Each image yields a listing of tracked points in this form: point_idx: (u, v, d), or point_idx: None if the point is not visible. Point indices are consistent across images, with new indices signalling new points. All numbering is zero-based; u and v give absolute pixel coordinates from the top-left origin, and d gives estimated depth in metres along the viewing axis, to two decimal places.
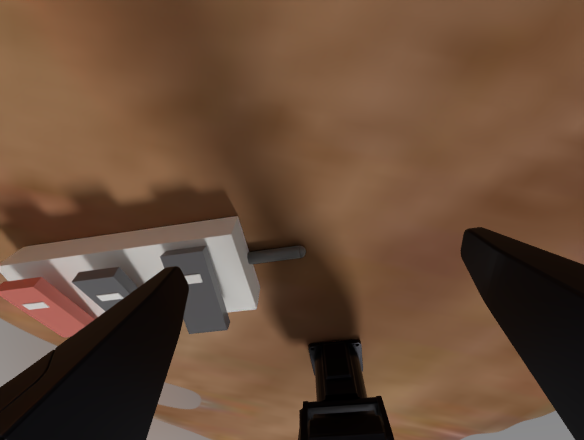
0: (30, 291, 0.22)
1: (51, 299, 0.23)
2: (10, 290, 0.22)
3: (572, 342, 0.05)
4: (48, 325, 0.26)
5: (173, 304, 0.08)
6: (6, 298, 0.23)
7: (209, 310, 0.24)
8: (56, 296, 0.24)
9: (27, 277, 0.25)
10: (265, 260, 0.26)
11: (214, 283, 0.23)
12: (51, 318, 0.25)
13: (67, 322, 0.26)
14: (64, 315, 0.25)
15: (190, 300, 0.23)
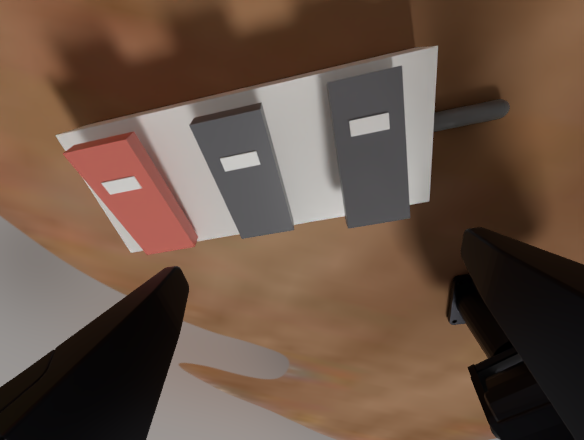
0: (119, 151, 0.14)
1: (147, 171, 0.15)
2: (88, 149, 0.14)
3: (572, 342, 0.05)
4: (131, 230, 0.18)
5: (173, 304, 0.08)
6: (80, 169, 0.15)
7: (389, 183, 0.15)
8: (152, 170, 0.15)
9: None
10: (447, 123, 0.17)
11: (403, 135, 0.15)
12: (138, 214, 0.17)
13: (160, 222, 0.17)
14: (159, 207, 0.17)
15: (362, 165, 0.15)
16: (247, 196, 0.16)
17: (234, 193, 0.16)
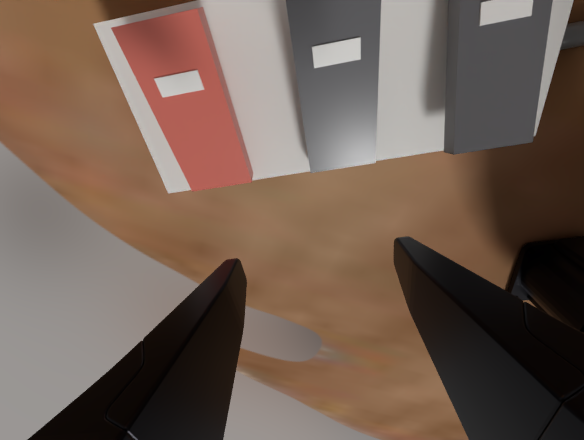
0: (185, 27, 0.11)
1: (214, 64, 0.12)
2: (145, 23, 0.11)
3: (461, 352, 0.05)
4: (179, 154, 0.14)
5: (238, 297, 0.08)
6: (129, 55, 0.11)
7: (516, 94, 0.12)
8: (218, 67, 0.12)
9: None
10: (566, 38, 0.15)
11: (542, 28, 0.12)
12: (192, 131, 0.14)
13: (216, 144, 0.14)
14: (220, 121, 0.13)
15: (486, 68, 0.12)
16: (332, 109, 0.13)
17: (318, 104, 0.13)
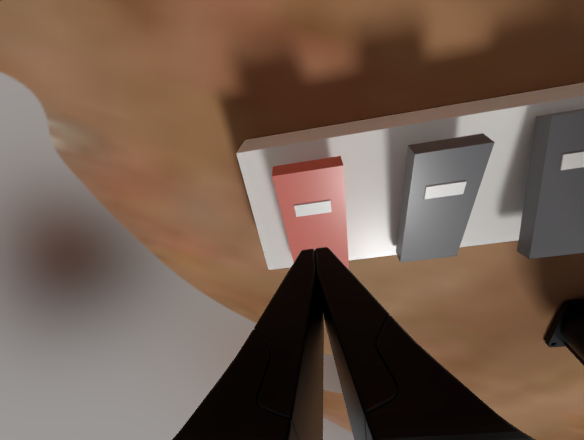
0: (330, 176, 0.14)
1: (344, 196, 0.15)
2: (300, 173, 0.14)
3: (340, 362, 0.06)
4: (295, 250, 0.17)
5: None
6: (280, 191, 0.14)
7: None
8: None
9: None
10: None
11: None
12: (312, 236, 0.17)
13: (328, 244, 0.17)
14: (336, 230, 0.16)
15: (562, 198, 0.15)
16: (430, 223, 0.16)
17: (420, 219, 0.16)
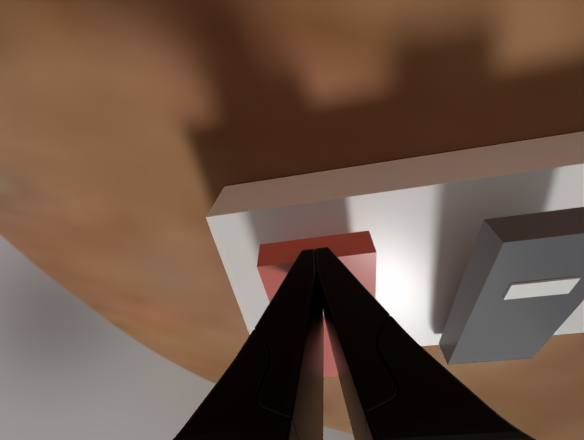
0: (353, 266, 0.08)
1: (374, 291, 0.09)
2: None
3: (340, 362, 0.06)
4: None
5: (319, 287, 0.08)
6: (271, 286, 0.09)
7: None
8: None
9: None
10: None
11: None
12: None
13: None
14: None
15: None
16: (504, 325, 0.10)
17: (489, 321, 0.10)
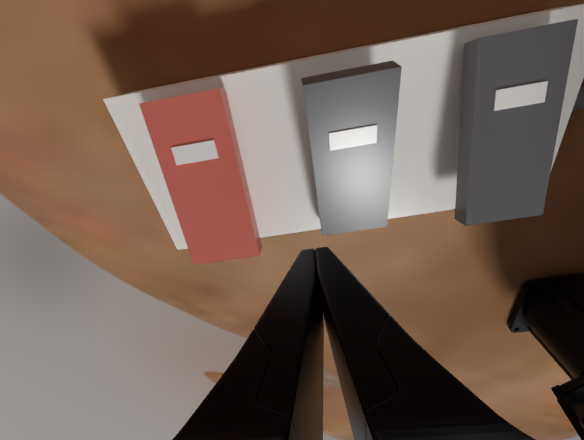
0: (207, 103, 0.12)
1: (231, 135, 0.12)
2: (171, 100, 0.12)
3: (340, 362, 0.06)
4: (185, 222, 0.14)
5: None
6: (151, 126, 0.12)
7: (528, 172, 0.12)
8: (234, 139, 0.13)
9: None
10: (573, 103, 0.15)
11: (554, 111, 0.12)
12: (202, 198, 0.13)
13: (225, 213, 0.13)
14: (231, 189, 0.13)
15: (499, 148, 0.12)
16: (346, 183, 0.13)
17: (332, 179, 0.13)
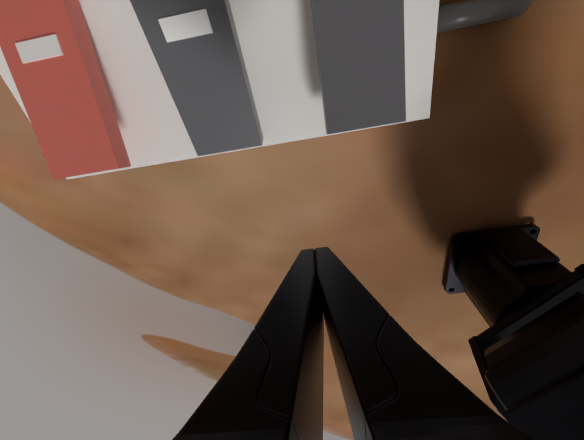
0: None
1: (73, 30, 0.12)
2: None
3: (339, 362, 0.06)
4: (39, 130, 0.13)
5: None
6: None
7: (381, 70, 0.12)
8: (83, 38, 0.12)
9: None
10: (455, 17, 0.14)
11: (401, 0, 0.11)
12: (53, 102, 0.13)
13: (78, 119, 0.13)
14: (80, 90, 0.13)
15: (346, 42, 0.11)
16: (199, 87, 0.13)
17: (183, 81, 0.12)
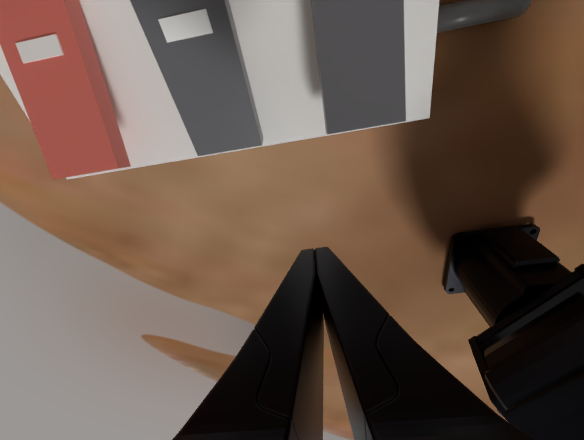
0: None
1: (74, 30, 0.12)
2: None
3: (340, 361, 0.06)
4: (39, 129, 0.13)
5: None
6: None
7: (381, 70, 0.12)
8: (84, 38, 0.12)
9: None
10: (455, 17, 0.14)
11: (401, 0, 0.11)
12: (53, 101, 0.13)
13: (78, 118, 0.13)
14: (80, 90, 0.13)
15: (346, 42, 0.11)
16: (199, 87, 0.13)
17: (183, 81, 0.12)
